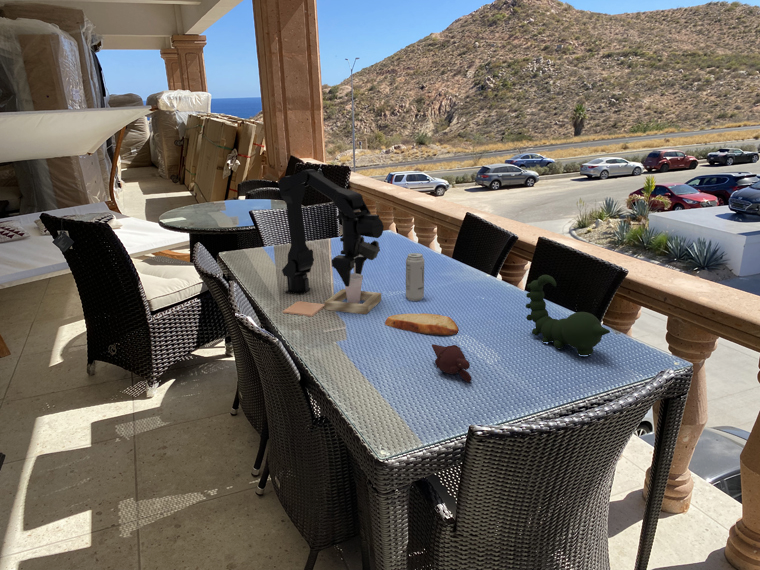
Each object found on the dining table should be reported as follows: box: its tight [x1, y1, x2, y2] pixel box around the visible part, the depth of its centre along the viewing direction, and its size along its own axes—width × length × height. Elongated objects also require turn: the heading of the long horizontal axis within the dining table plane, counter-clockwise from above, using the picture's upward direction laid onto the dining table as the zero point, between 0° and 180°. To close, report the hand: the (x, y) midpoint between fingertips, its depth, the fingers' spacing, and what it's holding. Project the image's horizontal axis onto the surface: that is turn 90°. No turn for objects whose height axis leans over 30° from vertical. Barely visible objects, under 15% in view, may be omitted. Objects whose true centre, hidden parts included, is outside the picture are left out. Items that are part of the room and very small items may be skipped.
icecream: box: [431, 343, 473, 383], centre depth 124 cm, size 7×7×15 cm
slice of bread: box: [384, 313, 460, 336], centre depth 151 cm, size 18×18×4 cm
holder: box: [323, 288, 382, 315], centre depth 170 cm, size 14×14×2 cm
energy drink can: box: [405, 252, 425, 302], centre depth 174 cm, size 6×6×15 cm
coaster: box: [282, 300, 325, 318], centre depth 167 cm, size 10×10×1 cm
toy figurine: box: [525, 274, 611, 355], centre depth 135 cm, size 9×19×25 cm
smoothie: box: [344, 264, 364, 304], centre depth 169 cm, size 6×6×14 cm
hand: (353, 282), depth 168 cm, fingers open, 9 cm apart
